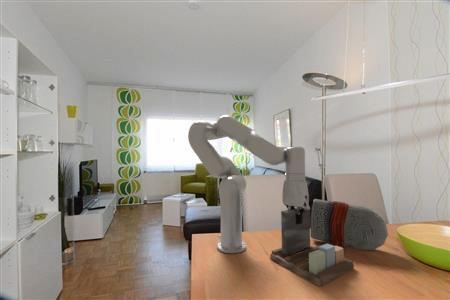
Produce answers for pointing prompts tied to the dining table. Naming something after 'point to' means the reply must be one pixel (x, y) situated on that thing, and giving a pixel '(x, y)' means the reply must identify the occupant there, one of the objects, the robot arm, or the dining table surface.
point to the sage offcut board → (317, 262)
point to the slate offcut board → (328, 254)
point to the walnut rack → (304, 269)
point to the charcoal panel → (294, 231)
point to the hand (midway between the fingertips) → (296, 222)
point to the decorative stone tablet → (347, 225)
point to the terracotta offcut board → (339, 255)
